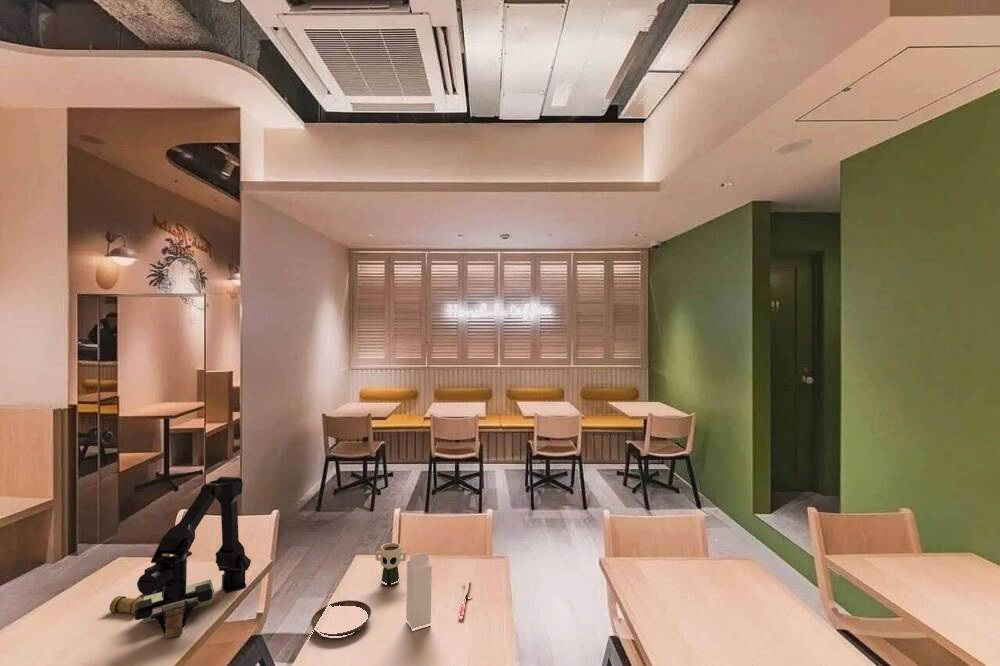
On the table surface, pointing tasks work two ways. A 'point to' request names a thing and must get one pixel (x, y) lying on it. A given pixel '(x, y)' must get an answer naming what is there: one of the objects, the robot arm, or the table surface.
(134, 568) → the table surface
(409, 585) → the milk
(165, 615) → the token
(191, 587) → the plinth shelf
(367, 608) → the plant saucer
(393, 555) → the character mug
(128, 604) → the gavel
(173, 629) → the pusher tool
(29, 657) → the table surface
